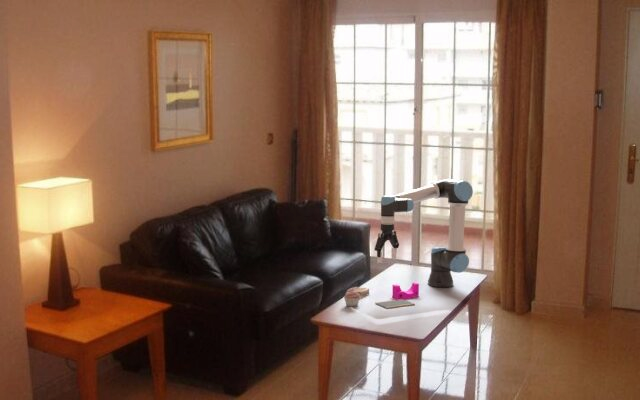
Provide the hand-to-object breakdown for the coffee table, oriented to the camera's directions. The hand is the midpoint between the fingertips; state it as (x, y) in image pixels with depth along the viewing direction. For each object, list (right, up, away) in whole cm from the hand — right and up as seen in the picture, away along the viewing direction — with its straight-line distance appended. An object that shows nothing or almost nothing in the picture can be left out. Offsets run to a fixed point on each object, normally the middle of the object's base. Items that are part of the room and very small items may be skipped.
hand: (386, 261), depth 437 cm
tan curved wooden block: (-19, -19, +15) cm, 31 cm away
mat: (+4, -23, -7) cm, 25 cm away
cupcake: (-20, -24, -9) cm, 32 cm away
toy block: (+12, -22, +10) cm, 27 cm away
